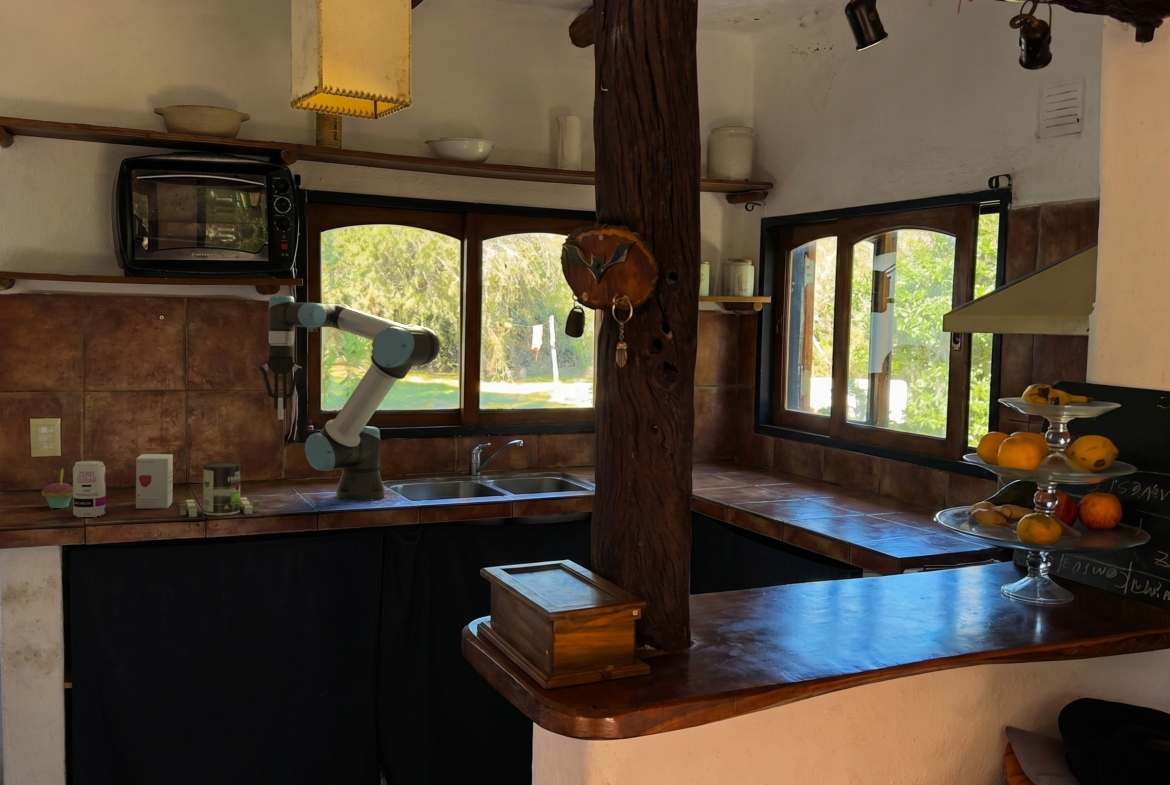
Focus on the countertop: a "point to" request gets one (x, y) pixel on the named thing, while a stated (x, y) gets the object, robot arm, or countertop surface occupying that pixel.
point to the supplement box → (154, 480)
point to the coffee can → (221, 488)
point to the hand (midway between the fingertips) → (280, 419)
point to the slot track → (243, 502)
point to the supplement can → (89, 489)
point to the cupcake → (58, 493)
